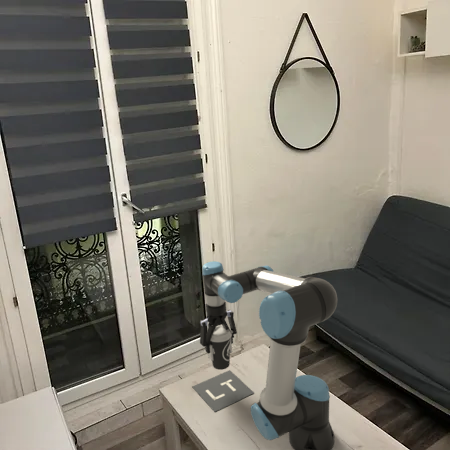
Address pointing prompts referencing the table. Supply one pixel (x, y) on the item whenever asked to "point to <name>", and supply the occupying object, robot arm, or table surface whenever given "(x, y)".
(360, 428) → the table surface
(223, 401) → the mat
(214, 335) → the coffee cup
